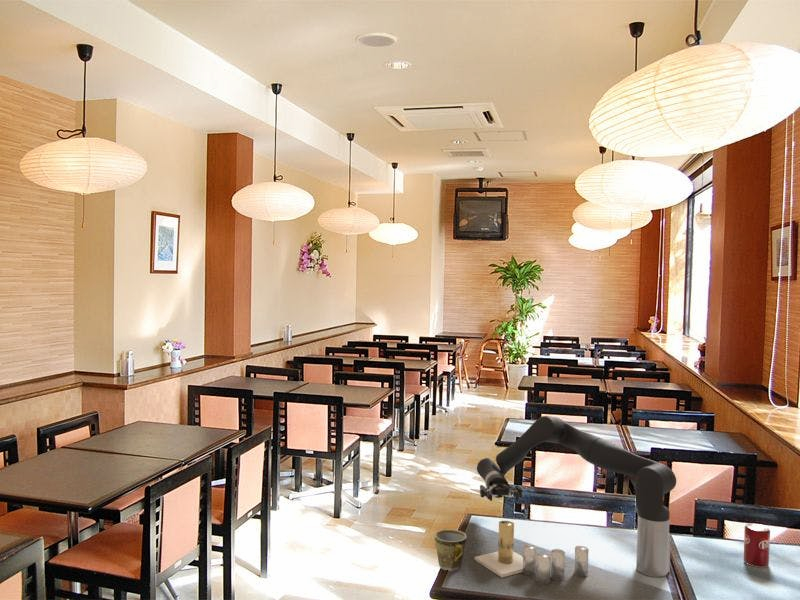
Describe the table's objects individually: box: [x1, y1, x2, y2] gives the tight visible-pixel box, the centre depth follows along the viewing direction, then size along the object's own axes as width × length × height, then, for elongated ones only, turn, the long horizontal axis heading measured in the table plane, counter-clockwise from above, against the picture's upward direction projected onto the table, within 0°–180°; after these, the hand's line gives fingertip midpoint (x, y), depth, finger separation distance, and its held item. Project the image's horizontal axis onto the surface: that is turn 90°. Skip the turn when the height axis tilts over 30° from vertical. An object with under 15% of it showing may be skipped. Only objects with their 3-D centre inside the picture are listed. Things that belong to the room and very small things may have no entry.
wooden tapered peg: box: [497, 520, 515, 564], centre depth 210 cm, size 5×5×12 cm
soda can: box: [743, 522, 771, 568], centre depth 214 cm, size 7×7×12 cm
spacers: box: [522, 544, 589, 586], centre depth 204 cm, size 18×12×8 cm, turn 120°
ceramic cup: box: [434, 528, 467, 572], centre depth 206 cm, size 13×10×10 cm
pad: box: [474, 550, 537, 578], centre depth 210 cm, size 14×14×1 cm
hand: (504, 497), depth 221 cm, fingers open, 8 cm apart
